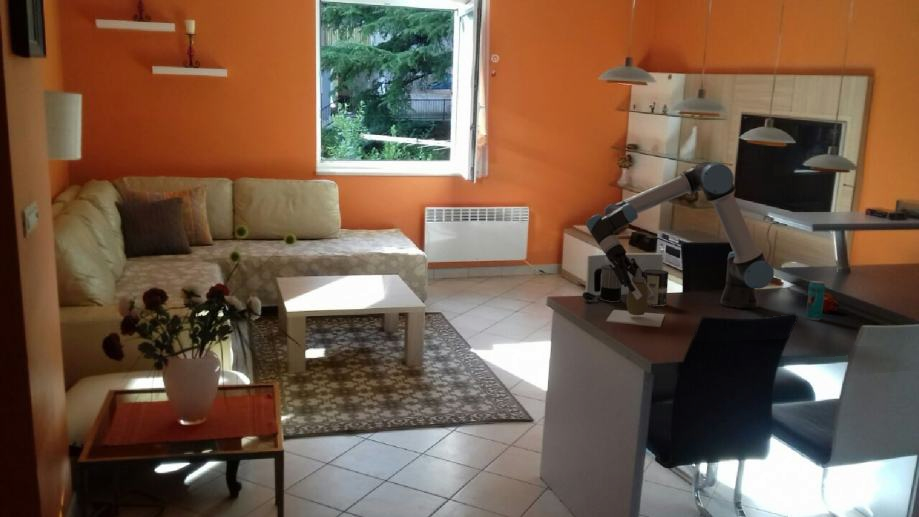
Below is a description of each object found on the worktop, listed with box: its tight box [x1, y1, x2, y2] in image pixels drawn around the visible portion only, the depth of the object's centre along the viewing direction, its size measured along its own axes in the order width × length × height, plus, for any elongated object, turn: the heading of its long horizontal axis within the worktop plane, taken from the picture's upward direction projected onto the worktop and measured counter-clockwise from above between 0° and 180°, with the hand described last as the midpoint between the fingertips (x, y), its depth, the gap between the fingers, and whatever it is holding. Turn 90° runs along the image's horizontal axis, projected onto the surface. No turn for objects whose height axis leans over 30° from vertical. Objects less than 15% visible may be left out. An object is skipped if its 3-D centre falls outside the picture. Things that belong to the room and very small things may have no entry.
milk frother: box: [582, 264, 623, 301], centre depth 344 cm, size 14×16×15 cm
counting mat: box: [605, 309, 666, 328], centre depth 313 cm, size 20×20×1 cm
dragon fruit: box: [823, 291, 840, 313], centre depth 334 cm, size 8×8×12 cm
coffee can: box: [642, 269, 670, 307], centre depth 340 cm, size 10×10×14 cm
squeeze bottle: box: [625, 267, 649, 315], centre depth 311 cm, size 8×8×18 cm
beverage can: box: [806, 280, 826, 321], centre depth 319 cm, size 6×6×15 cm
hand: (645, 296), depth 309 cm, fingers closed on squeeze bottle, 6 cm apart
